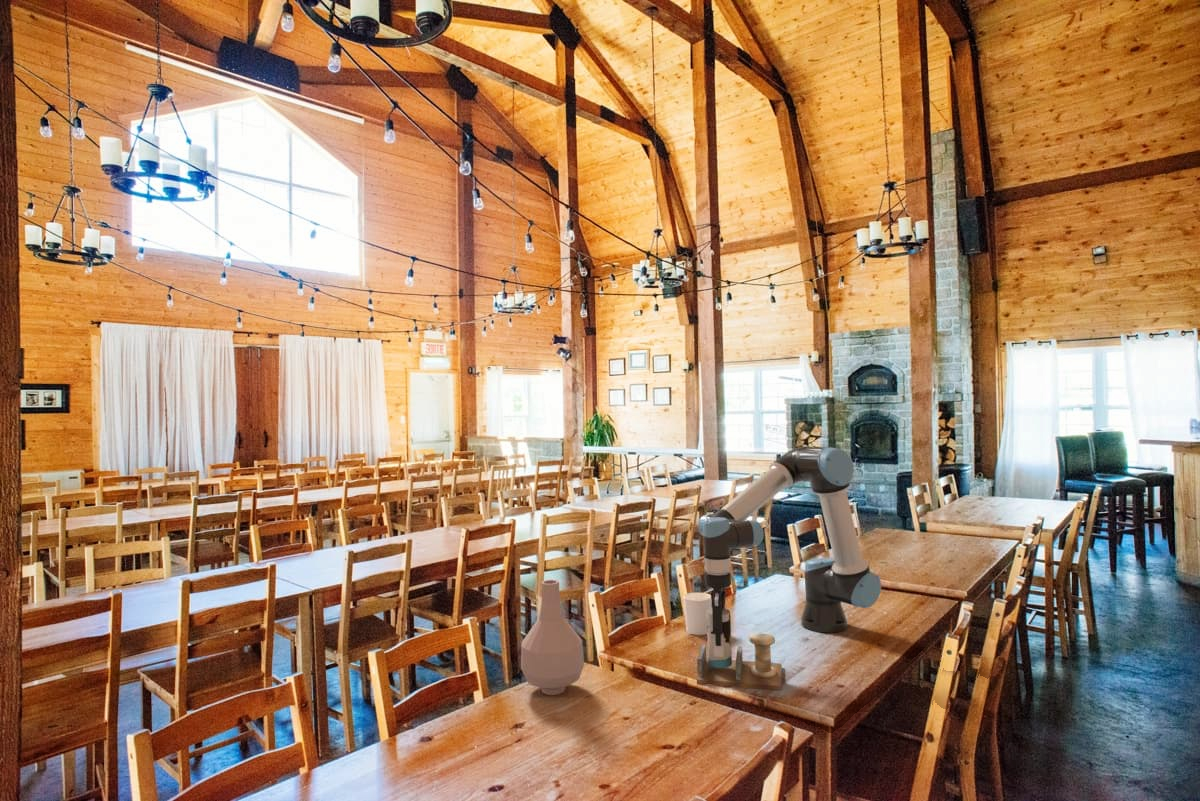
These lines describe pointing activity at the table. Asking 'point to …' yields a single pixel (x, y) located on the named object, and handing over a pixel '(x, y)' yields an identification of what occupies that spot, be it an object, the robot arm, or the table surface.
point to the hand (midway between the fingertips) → (720, 651)
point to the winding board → (744, 668)
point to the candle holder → (696, 612)
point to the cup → (726, 628)
